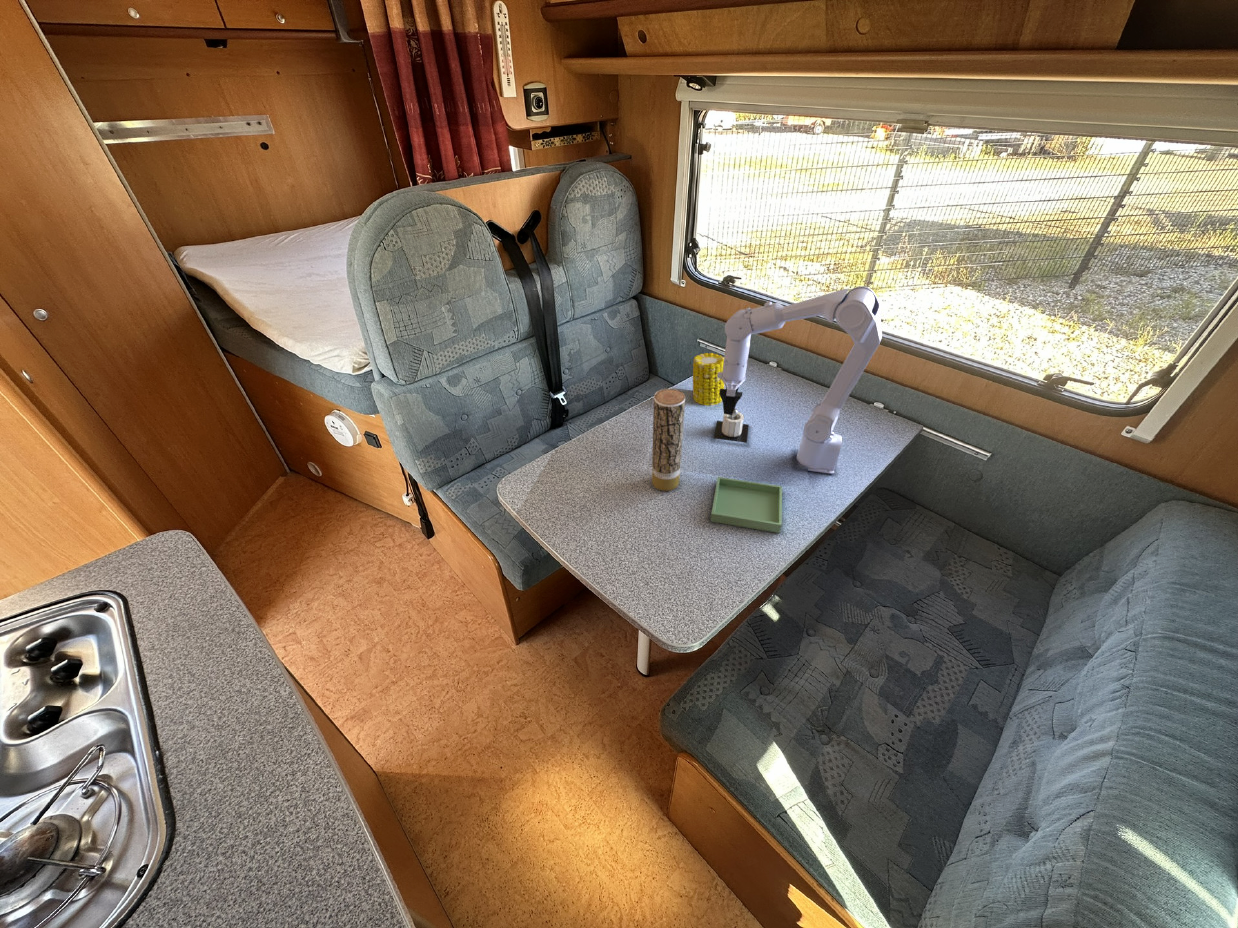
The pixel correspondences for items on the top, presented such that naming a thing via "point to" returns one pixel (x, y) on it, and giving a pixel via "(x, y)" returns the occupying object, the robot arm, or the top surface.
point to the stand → (720, 435)
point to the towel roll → (732, 425)
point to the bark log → (667, 438)
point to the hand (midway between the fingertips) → (729, 406)
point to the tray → (747, 504)
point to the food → (707, 378)
